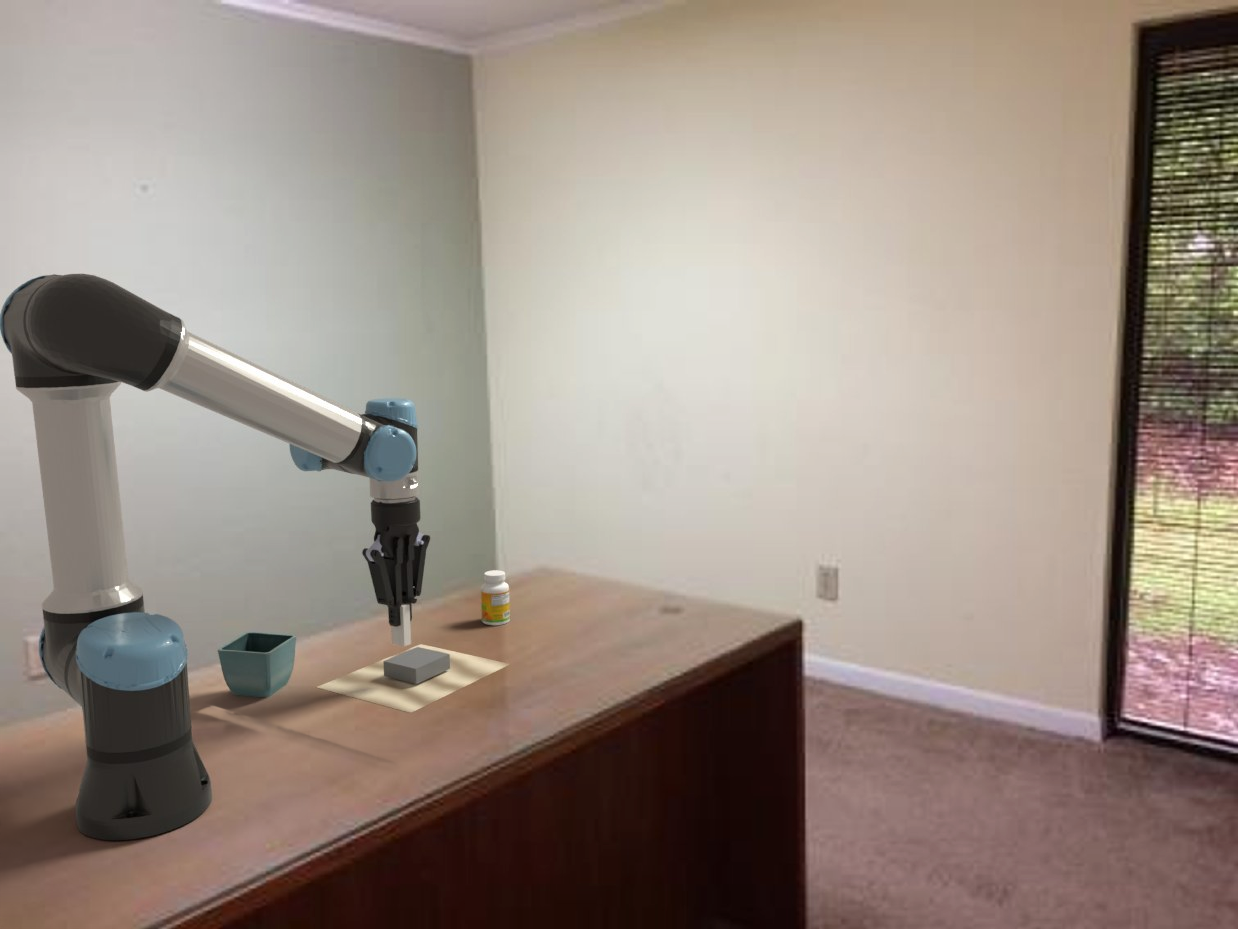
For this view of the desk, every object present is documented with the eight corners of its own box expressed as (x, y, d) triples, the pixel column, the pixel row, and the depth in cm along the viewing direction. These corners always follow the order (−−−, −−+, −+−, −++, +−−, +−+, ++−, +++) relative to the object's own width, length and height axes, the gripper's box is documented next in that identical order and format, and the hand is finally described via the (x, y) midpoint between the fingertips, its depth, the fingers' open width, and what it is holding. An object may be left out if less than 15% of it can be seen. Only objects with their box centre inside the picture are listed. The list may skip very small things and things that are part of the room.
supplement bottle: (479, 619, 202) (478, 570, 200) (506, 616, 203) (505, 568, 202) (484, 627, 196) (483, 577, 195) (512, 624, 198) (511, 575, 197)
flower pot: (272, 709, 158) (268, 652, 156) (219, 705, 160) (215, 649, 158) (300, 688, 166) (297, 634, 165) (250, 684, 168) (247, 631, 167)
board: (410, 720, 153) (410, 712, 153) (316, 694, 163) (316, 687, 163) (510, 670, 173) (510, 664, 173) (420, 650, 184) (420, 644, 183)
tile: (415, 668, 163) (449, 654, 169) (383, 661, 166) (417, 646, 173) (416, 686, 163) (450, 671, 170) (384, 678, 167) (418, 663, 174)
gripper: (382, 507, 153) (389, 660, 157) (441, 493, 164) (446, 636, 168) (346, 503, 157) (354, 651, 161) (406, 489, 168) (412, 628, 172)
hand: (401, 643), depth 165 cm, fingers closed
